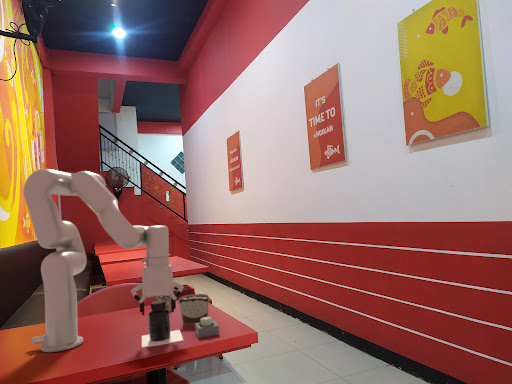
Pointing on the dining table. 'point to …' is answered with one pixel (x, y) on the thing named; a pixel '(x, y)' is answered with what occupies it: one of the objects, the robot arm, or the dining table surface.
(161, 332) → the supplement bottle
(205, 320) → the button
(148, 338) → the paper sheet
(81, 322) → the dining table surface
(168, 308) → the figurine
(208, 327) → the button housing
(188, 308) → the food container
